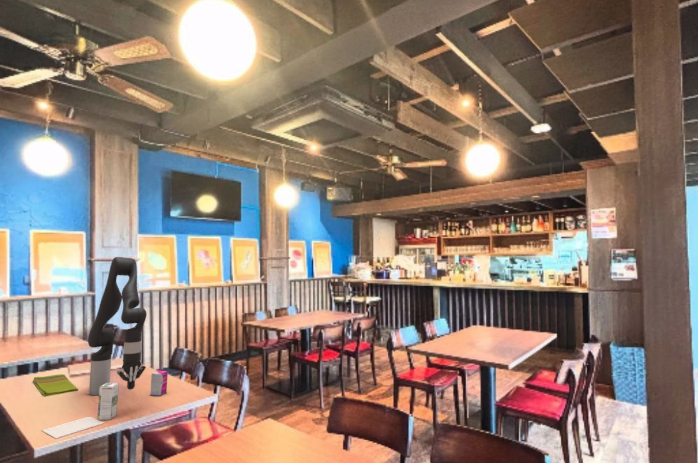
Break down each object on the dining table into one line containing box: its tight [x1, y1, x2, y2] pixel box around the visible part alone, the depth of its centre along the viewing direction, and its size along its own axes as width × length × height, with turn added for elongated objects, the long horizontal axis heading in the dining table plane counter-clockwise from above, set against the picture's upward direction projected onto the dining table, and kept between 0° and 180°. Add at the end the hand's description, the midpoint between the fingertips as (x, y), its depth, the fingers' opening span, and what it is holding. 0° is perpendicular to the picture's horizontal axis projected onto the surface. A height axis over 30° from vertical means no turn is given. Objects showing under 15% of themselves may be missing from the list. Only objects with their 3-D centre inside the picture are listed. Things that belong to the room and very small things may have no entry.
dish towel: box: [32, 373, 79, 398], centre depth 225 cm, size 15×36×3 cm, turn 45°
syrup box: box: [96, 382, 120, 421], centre depth 181 cm, size 6×6×14 cm
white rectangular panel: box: [41, 416, 105, 440], centre depth 170 cm, size 13×18×1 cm
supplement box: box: [149, 370, 169, 397], centre depth 212 cm, size 6×6×12 cm
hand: (130, 388), depth 189 cm, fingers closed
